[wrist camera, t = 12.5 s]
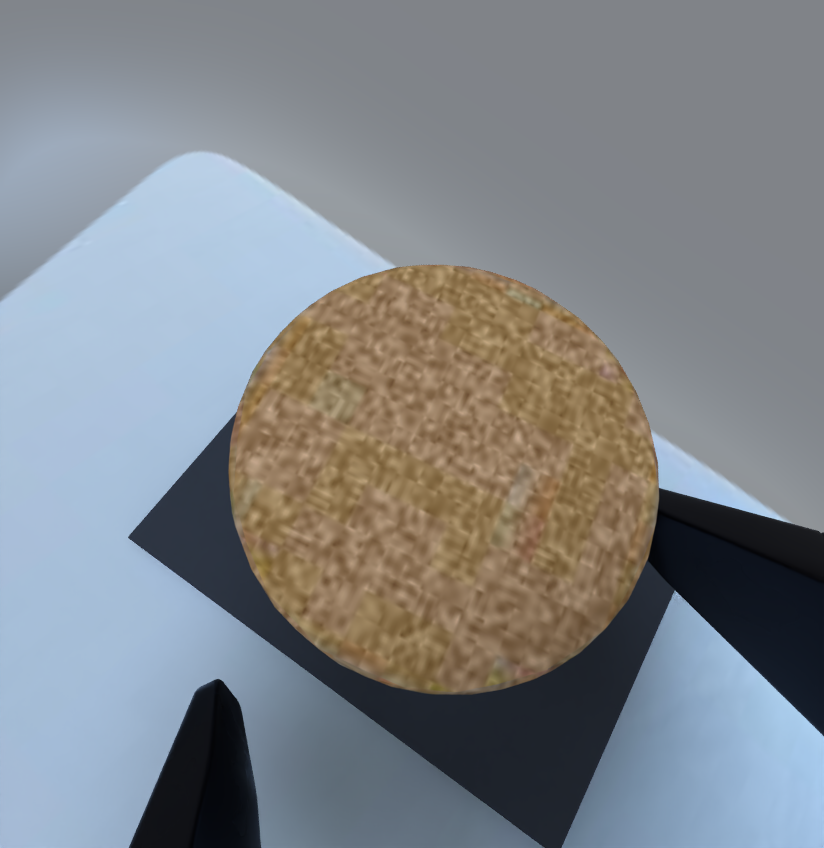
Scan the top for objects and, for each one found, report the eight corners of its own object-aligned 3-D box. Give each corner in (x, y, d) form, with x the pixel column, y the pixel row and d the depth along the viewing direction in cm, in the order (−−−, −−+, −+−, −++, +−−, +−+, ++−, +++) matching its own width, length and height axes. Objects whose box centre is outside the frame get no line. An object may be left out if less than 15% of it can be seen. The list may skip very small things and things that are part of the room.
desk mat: (678, 569, 21) (684, 569, 20) (553, 851, 17) (557, 857, 17) (317, 324, 22) (316, 320, 22) (131, 537, 18) (127, 537, 18)
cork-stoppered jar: (382, 435, 20) (440, 143, 6) (479, 530, 20) (803, 454, 5) (280, 532, 19) (31, 446, 4) (382, 639, 18) (477, 948, 4)
